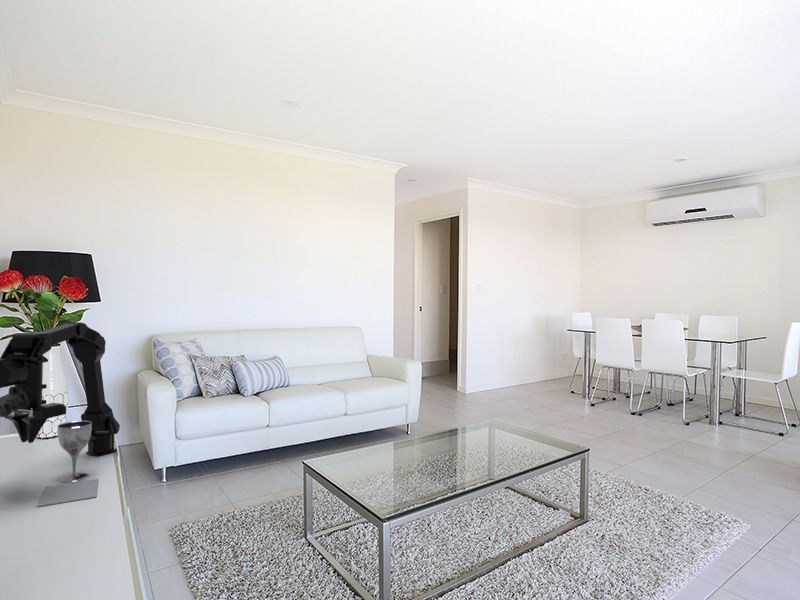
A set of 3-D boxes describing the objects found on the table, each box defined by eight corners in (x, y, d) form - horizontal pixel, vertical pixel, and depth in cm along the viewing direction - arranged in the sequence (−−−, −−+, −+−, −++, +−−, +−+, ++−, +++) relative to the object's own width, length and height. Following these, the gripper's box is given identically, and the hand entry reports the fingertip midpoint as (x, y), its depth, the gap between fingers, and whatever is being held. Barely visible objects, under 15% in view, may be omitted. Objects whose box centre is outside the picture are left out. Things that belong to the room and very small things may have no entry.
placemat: (45, 487, 127) (45, 486, 127) (98, 479, 133) (98, 478, 133) (37, 507, 115) (37, 506, 115) (96, 497, 121) (96, 496, 121)
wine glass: (50, 479, 132) (51, 425, 133) (80, 470, 139) (81, 419, 140) (66, 485, 129) (67, 429, 129) (96, 475, 136) (97, 422, 136)
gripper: (-34, 384, 118) (-35, 448, 118) (24, 389, 113) (23, 455, 113) (13, 378, 129) (12, 436, 129) (68, 381, 124) (67, 442, 124)
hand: (27, 442), depth 123 cm, fingers closed
